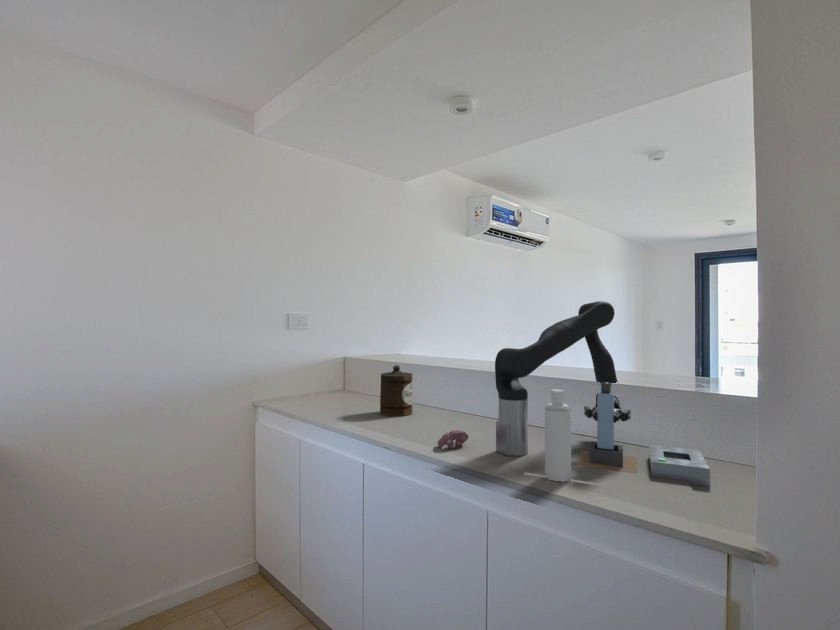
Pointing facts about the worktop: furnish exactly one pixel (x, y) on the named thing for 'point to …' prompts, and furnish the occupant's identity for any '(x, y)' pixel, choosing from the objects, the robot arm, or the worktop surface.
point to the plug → (605, 417)
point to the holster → (607, 459)
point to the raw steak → (453, 438)
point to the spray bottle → (558, 438)
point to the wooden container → (396, 393)
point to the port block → (679, 464)
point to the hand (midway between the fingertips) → (605, 418)
